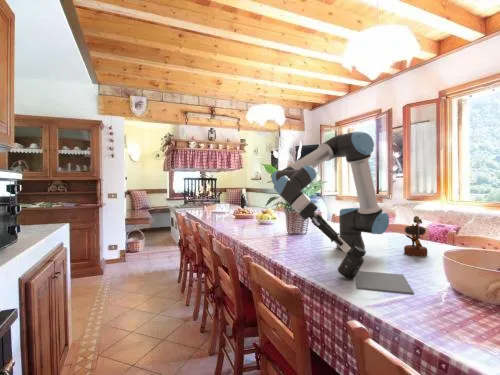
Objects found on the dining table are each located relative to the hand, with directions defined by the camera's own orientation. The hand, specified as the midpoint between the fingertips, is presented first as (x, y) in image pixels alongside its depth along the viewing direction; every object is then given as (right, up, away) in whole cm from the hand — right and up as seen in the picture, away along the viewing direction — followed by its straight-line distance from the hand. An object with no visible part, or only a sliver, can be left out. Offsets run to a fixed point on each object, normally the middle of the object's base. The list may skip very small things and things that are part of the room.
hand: (348, 250), depth 112 cm
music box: (+48, -10, +38) cm, 62 cm away
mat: (+12, -11, -3) cm, 16 cm away
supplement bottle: (-1, -10, +1) cm, 10 cm away
